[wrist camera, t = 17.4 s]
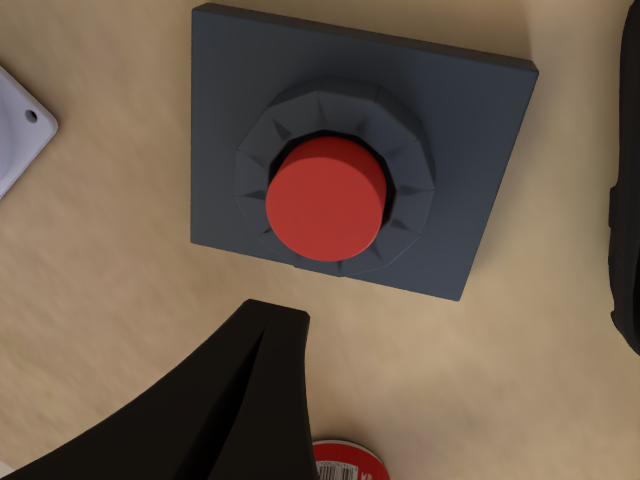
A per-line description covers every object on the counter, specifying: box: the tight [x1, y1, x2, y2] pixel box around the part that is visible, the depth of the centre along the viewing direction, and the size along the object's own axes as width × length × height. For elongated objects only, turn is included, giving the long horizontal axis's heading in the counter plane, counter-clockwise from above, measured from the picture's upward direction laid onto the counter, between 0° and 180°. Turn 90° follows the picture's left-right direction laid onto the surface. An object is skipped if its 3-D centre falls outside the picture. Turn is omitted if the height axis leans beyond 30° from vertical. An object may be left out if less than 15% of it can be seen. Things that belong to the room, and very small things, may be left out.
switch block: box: [191, 3, 539, 301], centre depth 19 cm, size 11×9×3 cm
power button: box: [266, 136, 387, 261], centre depth 17 cm, size 4×4×2 cm
